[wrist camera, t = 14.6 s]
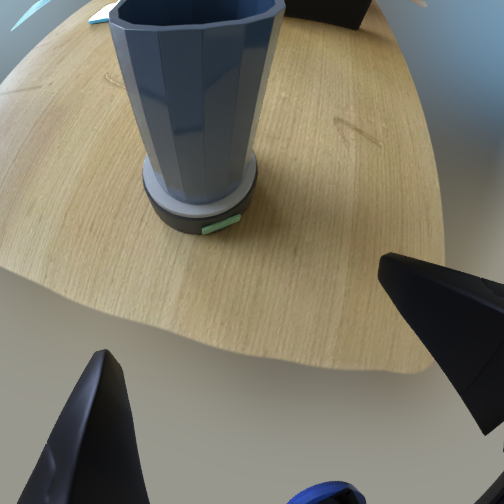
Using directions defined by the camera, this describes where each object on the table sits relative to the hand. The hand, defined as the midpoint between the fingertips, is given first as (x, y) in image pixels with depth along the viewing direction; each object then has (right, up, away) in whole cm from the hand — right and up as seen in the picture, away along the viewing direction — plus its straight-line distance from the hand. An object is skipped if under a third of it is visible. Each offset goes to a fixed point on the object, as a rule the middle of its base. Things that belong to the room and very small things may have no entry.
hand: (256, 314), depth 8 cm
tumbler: (-4, +8, +11) cm, 15 cm away
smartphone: (-22, +45, +23) cm, 55 cm away
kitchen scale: (-4, +7, +15) cm, 17 cm away
